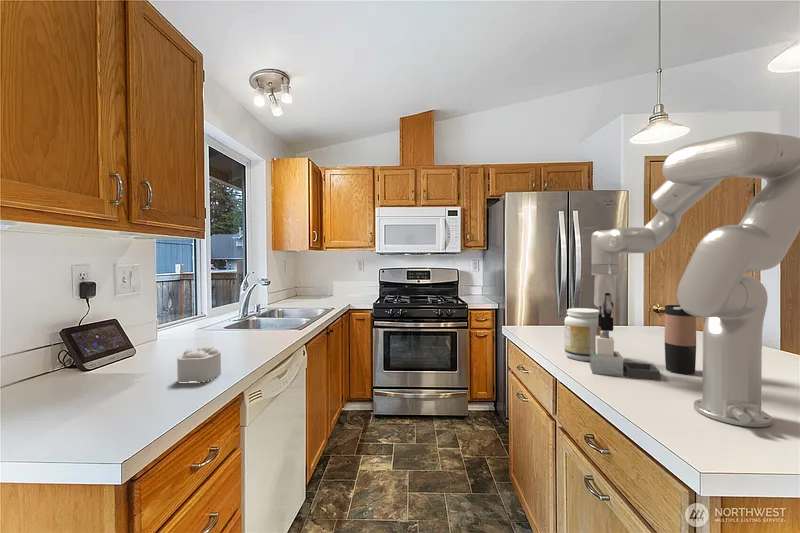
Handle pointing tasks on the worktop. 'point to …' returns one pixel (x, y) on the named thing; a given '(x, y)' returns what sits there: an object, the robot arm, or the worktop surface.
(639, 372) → the dark grey tray
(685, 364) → the travel mug
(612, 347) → the plug
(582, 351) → the supplement tub
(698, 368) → the worktop surface
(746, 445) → the worktop surface
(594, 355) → the port
